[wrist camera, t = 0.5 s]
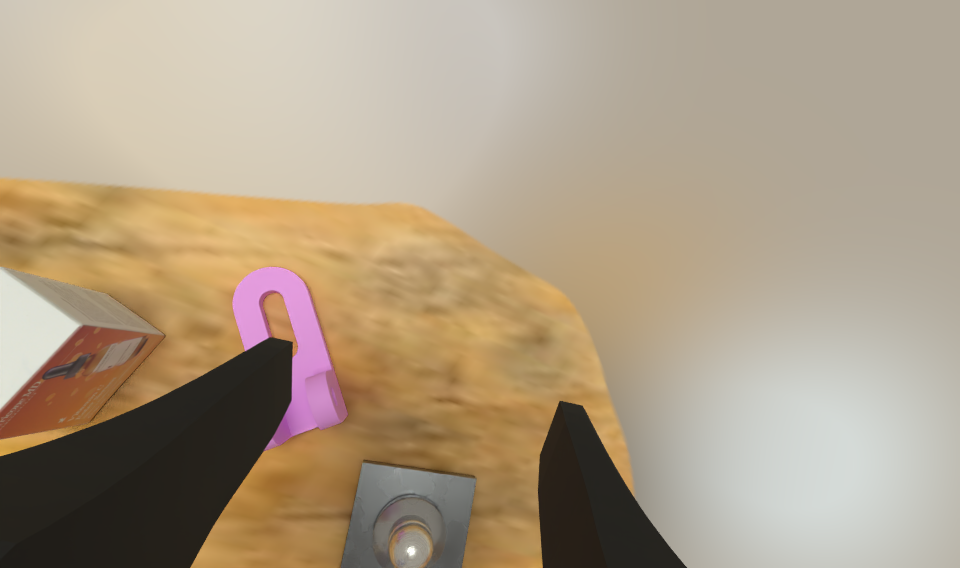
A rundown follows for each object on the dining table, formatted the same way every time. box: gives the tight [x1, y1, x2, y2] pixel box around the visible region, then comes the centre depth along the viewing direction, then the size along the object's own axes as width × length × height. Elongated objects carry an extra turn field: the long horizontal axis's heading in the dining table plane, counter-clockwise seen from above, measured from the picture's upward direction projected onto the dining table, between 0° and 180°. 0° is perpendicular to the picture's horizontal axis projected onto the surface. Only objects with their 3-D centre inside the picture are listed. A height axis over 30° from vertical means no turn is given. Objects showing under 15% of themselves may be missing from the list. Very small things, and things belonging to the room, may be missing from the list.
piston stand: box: [341, 460, 476, 568], centre depth 35 cm, size 9×9×6 cm
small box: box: [0, 267, 165, 440], centre depth 30 cm, size 8×6×10 cm
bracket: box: [233, 267, 348, 451], centre depth 35 cm, size 13×6×7 cm, turn 20°
